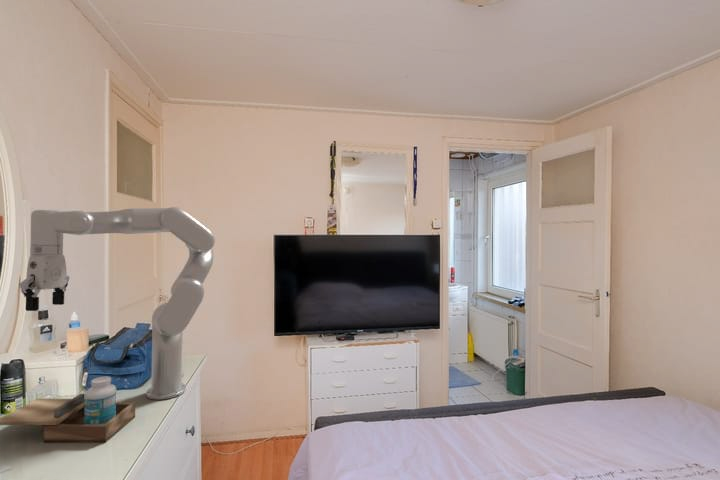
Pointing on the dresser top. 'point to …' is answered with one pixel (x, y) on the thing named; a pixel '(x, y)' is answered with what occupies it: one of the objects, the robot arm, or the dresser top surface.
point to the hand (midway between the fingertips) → (45, 307)
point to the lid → (44, 411)
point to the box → (89, 427)
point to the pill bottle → (100, 401)
